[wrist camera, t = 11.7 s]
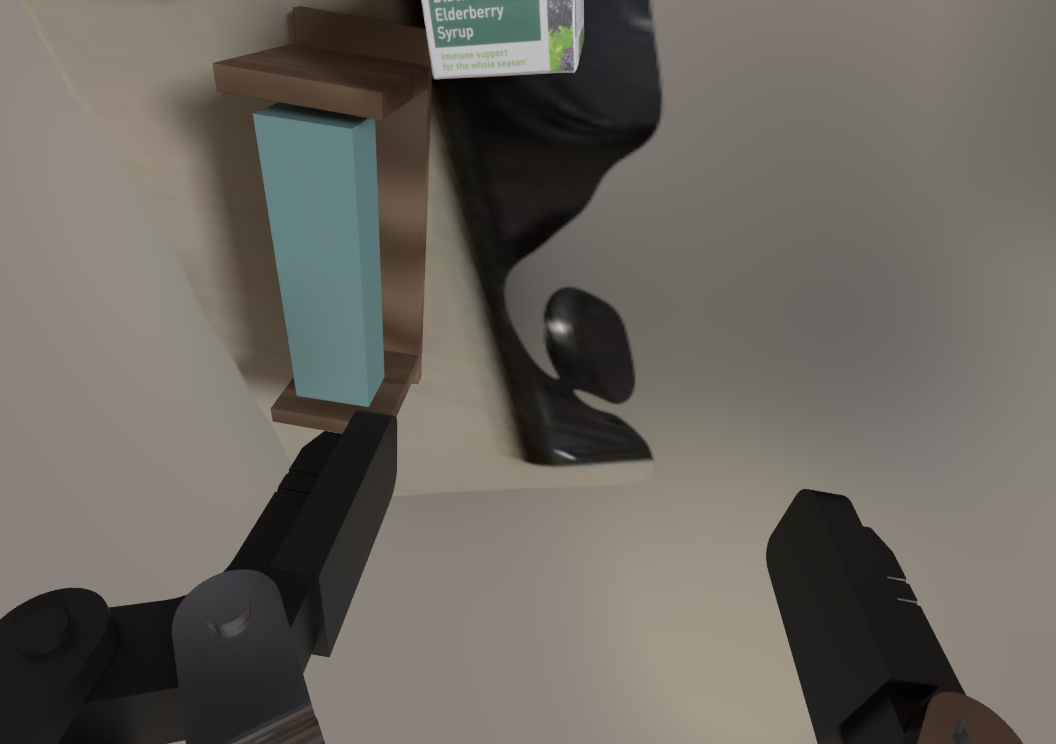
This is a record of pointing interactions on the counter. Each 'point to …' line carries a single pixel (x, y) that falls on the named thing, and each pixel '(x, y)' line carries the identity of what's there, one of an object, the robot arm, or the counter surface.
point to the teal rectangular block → (326, 246)
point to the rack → (402, 169)
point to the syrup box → (503, 37)
